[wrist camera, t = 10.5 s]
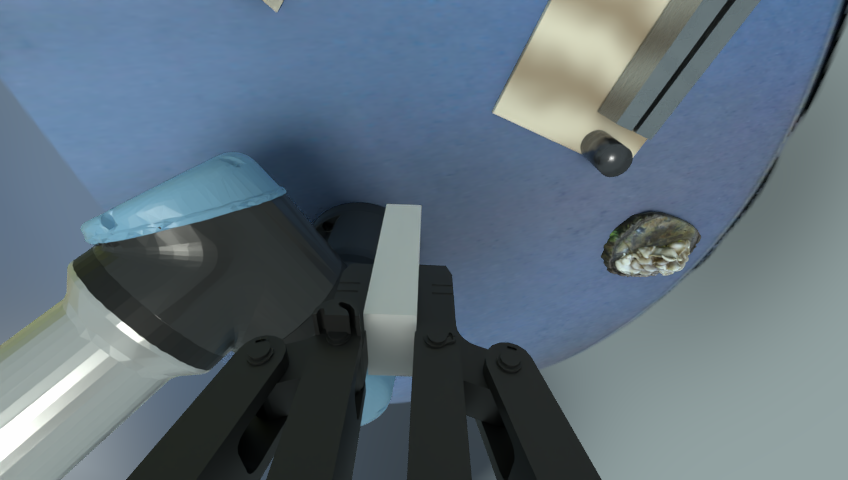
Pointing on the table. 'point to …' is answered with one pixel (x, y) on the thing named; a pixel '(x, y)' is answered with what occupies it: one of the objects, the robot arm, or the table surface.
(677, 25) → the tong arm
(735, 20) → the tongs fixed
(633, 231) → the log
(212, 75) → the table surface
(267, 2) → the condiment
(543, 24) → the board
